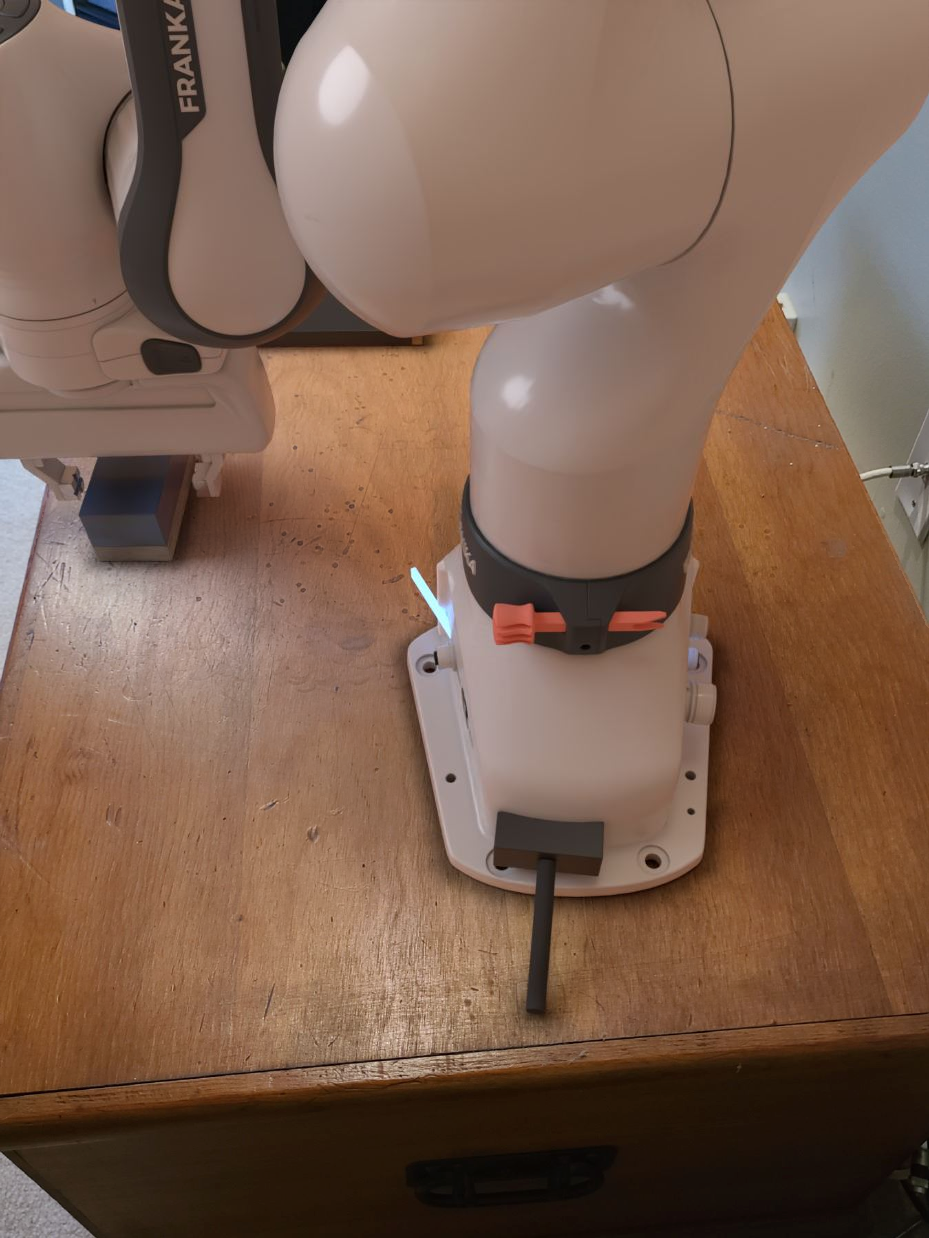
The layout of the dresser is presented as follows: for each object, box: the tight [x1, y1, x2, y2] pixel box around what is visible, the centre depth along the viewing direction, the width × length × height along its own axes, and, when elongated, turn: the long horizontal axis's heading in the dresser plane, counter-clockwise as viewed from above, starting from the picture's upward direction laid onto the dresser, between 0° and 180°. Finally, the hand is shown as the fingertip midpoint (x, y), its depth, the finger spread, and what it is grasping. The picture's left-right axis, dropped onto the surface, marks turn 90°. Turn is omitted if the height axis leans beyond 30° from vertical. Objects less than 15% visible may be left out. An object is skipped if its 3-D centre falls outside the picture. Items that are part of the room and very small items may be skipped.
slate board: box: [256, 290, 425, 348], centre depth 84 cm, size 11×22×2 cm, turn 91°
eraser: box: [78, 454, 198, 562], centre depth 68 cm, size 5×10×4 cm, turn 0°
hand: (141, 492), depth 68 cm, fingers open, 8 cm apart
